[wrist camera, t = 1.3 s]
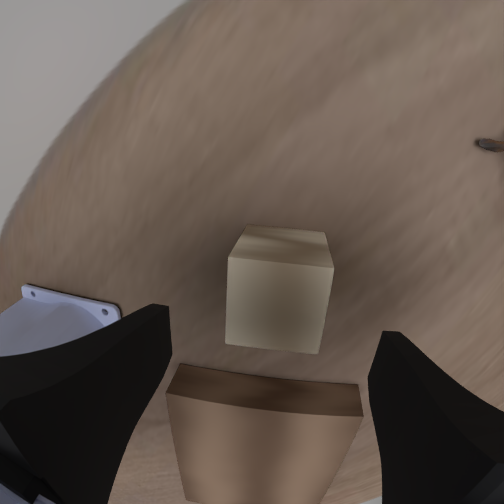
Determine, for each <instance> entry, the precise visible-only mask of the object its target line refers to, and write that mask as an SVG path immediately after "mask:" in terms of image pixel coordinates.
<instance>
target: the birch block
mask: <svg viewBox="0 0 504 504" xmlns="http://www.w3.org/2000/svg"><path fill="white" fill-rule="evenodd" d="M333 274H334V265H333V261H332V257H331V254H330V250H329V246H328V243H327V239H326V236H325V232H319V231H309V230H300V229H291V228H281V227H271V226H261V225H251V224H247V226H246V228H245V229H244V231H243V233H242V234H241V236H240V238H239V239H238V241H237V243H236V245H235V246H234V248H233V250H232V251H231V253H230V255H229V256H228V274H227V302H226V335H225V344H231V345H239V346H246V347H254V348H261V349H270V350H279V351H288V352H298V353H308V354H318V352H319V347H320V342H321V338H322V333H323V328H324V323H325V318H326V313H327V308H328V302H329V297H330V291H331V286H332V280H333Z"/></svg>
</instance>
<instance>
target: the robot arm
mask: <svg viewBox="0 0 504 504" xmlns="http://www.w3.org/2000/svg"><path fill="white" fill-rule="evenodd" d="M21 290H22V295H23V298H22V299H20V300H19V301H18V302H16V303H15V304H13V305H12V306H11V307H9V308H8V309H6V310H5V311H4V312H2V313H1V314H0V504H108V500H109V496H110V493H111V490H112V486H113V483H114V480H115V477H116V474H117V471H118V468H119V465H120V463H121V460H122V457H123V454H124V452H125V449H126V447H127V444H128V442H129V439H130V437H131V435H132V432H133V430H134V428H135V426H136V424H137V422H138V420H139V419H140V417H141V415H142V414H143V412H144V410H145V408H146V407H147V405H148V403H149V401H150V400H151V398H152V396H153V394H154V393H155V391H156V389H157V387H158V386H159V384H160V382H161V380H162V379H163V377H164V374H165V372H166V369H167V367H168V364H169V362H170V359H171V356H172V343H171V331H170V317H169V306H164V305H158V304H150V305H148V306H145V307H143V308H141V309H139V310H137V311H135V312H133V313H131V314H129V315H127V316H125V317H123V318H121V316H120V311H119V309H118V307H117V306H115V305H113V304H109V303H104V302H99V301H95V300H90V299H85V298H81V297H76V296H72V295H68V294H64V293H59V292H55V291H51V290H47V289H43V288H39V287H35V286H31V285H27V284H25V285H23V286H22V288H21ZM105 309H106V310H107V311H108V312H106V311H105ZM368 391H369V402H370V407H371V412H372V417H373V421H374V426H375V431H376V436H377V441H378V446H379V451H380V458H381V467H382V504H504V412H503V411H501V410H499V409H497V408H495V407H494V406H492V405H490V404H488V403H487V402H485V401H483V400H482V399H480V398H479V397H477V396H476V395H474V394H473V393H471V392H470V391H468V390H467V389H465V388H464V387H463V386H461V385H460V384H459V383H457V382H456V381H455V380H454V379H453V378H451V377H450V376H449V375H448V374H446V373H445V372H444V371H443V370H442V369H441V368H439V367H438V366H437V365H436V364H435V363H434V362H433V361H432V360H431V359H429V358H428V357H427V356H426V355H425V354H424V353H423V352H422V351H421V350H420V349H419V348H418V347H416V346H415V345H414V344H413V343H412V342H411V341H410V340H409V339H408V338H407V337H405V336H404V335H403V334H402V333H400V332H396V331H383V332H382V335H381V338H380V341H379V345H378V348H377V351H376V354H375V357H374V360H373V363H372V366H371V369H370V372H369V375H368Z"/></svg>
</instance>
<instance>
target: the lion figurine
mask: <svg viewBox="0 0 504 504" xmlns="http://www.w3.org/2000/svg"><path fill="white" fill-rule="evenodd" d="M479 145H480V146H481V147H483V148H485V149H486V150H490V151H493V152H501V151H504V142H499V141H494V140H491V139H481V140H480V141H479Z"/></svg>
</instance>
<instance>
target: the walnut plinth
mask: <svg viewBox="0 0 504 504" xmlns="http://www.w3.org/2000/svg"><path fill="white" fill-rule="evenodd" d="M166 398H167V405H168V411H169V418H170V424H171V429H172V435H173V441H174V446H175V451H176V456H177V461H178V466H179V471H180V476H181V480H182V485H183V489H184V493H185V498H186V500H188V501H192V502H197V503H201V504H320V502H321V501H322V499H323V497H324V495H325V494H326V492H327V490H328V488H329V486H330V485H331V483H332V481H333V479H334V477H335V475H336V473H337V472H338V470H339V468H340V466H341V464H342V462H343V460H344V458H345V456H346V454H347V452H348V450H349V448H350V446H351V444H352V441H353V439H354V437H355V435H356V433H357V431H358V428H359V426H360V424H361V422H362V419H363V417H364V416H363V410H362V404H361V398H360V392H359V387H358V385H353V384H334V383H319V382H307V381H296V380H286V379H276V378H268V377H260V376H252V375H245V374H238V373H231V372H224V371H218V370H212V369H206V368H200V367H195V366H189V365H184V364H180V366H179V367H178V369H177V371H176V373H175V375H174V377H173V379H172V381H171V383H170V385H169V387H168V389H167V391H166Z"/></svg>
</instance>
